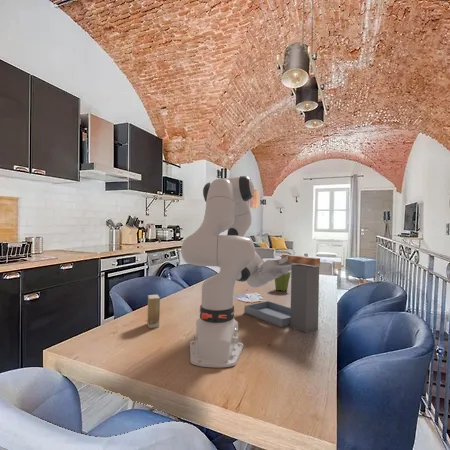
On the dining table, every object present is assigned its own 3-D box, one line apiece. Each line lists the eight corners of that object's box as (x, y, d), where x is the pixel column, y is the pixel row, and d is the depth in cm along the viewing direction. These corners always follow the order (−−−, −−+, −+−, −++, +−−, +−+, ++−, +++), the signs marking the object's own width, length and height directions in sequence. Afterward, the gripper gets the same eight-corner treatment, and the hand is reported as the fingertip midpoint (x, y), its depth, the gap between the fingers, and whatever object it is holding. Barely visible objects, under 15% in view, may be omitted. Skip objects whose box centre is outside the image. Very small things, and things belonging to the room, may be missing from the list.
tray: (244, 312, 141) (244, 305, 141) (268, 307, 151) (268, 300, 151) (282, 327, 122) (282, 319, 122) (306, 320, 131) (306, 312, 131)
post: (290, 326, 123) (291, 265, 123) (302, 322, 128) (303, 263, 128) (305, 332, 117) (307, 267, 117) (318, 328, 122) (319, 266, 122)
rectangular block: (281, 261, 131) (281, 254, 131) (285, 260, 133) (285, 254, 133) (315, 266, 117) (315, 258, 117) (319, 265, 118) (320, 258, 118)
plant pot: (271, 291, 187) (271, 273, 187) (274, 287, 198) (274, 270, 198) (289, 293, 183) (290, 275, 183) (291, 289, 194) (292, 272, 194)
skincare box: (147, 323, 124) (147, 294, 124) (157, 322, 126) (157, 294, 126) (148, 328, 118) (149, 298, 118) (159, 327, 120) (160, 297, 120)
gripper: (253, 264, 133) (272, 252, 123) (283, 262, 145) (303, 250, 135) (257, 278, 130) (278, 266, 121) (288, 274, 142) (309, 262, 133)
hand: (291, 257), depth 128 cm, fingers closed on rectangular block, 3 cm apart
